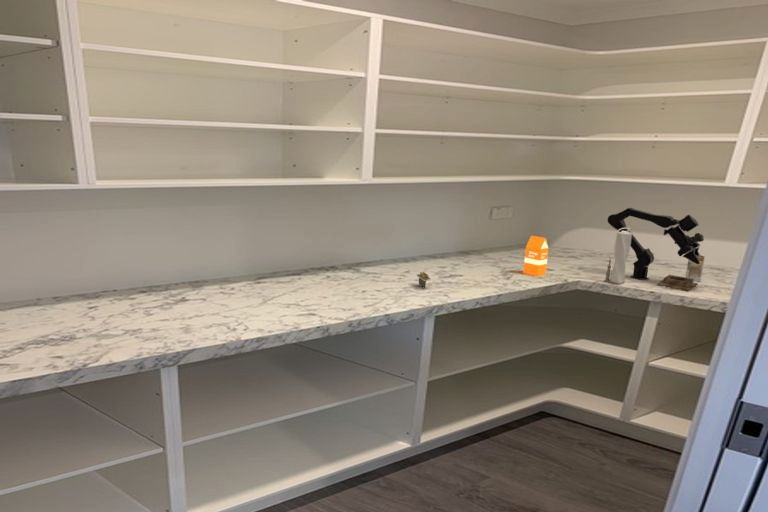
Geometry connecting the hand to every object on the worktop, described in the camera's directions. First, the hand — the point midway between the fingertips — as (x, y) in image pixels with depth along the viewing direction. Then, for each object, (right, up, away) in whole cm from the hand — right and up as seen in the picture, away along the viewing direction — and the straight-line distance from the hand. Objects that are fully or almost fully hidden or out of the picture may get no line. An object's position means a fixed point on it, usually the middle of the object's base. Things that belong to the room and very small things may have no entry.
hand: (700, 263), depth 244 cm
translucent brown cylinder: (-1, -6, +2) cm, 7 cm away
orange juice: (-75, -6, +20) cm, 78 cm away
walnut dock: (-6, -11, +8) cm, 15 cm away
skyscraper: (-37, -10, +9) cm, 39 cm away
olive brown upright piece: (-137, -11, -12) cm, 138 cm away
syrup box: (+9, -10, +20) cm, 24 cm away
